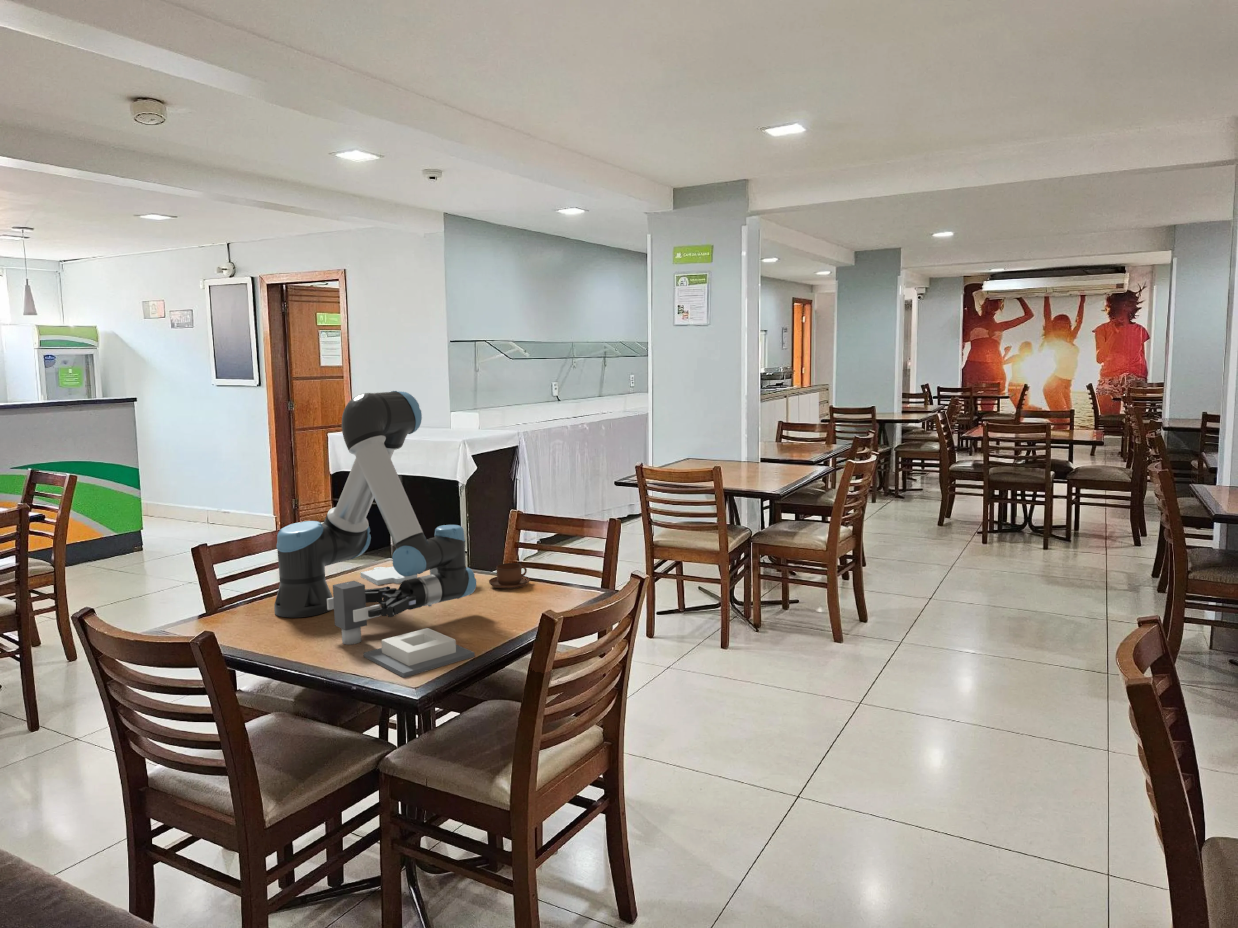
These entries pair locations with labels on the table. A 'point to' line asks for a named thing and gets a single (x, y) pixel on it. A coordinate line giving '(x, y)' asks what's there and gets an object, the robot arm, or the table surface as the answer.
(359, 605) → the plug
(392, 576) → the mounting plate
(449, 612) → the table surface
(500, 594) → the table surface
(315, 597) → the robot arm
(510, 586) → the cup and saucer
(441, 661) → the socket
